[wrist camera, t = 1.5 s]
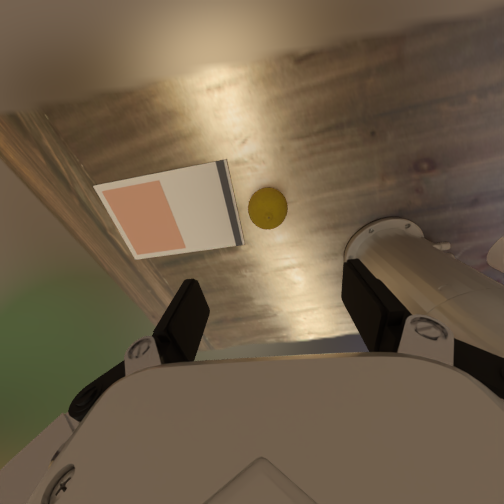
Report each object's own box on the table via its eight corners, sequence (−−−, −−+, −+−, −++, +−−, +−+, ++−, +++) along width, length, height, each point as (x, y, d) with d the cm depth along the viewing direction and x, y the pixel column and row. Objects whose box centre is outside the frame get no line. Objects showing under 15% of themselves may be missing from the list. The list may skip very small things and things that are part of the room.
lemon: (250, 218, 30) (247, 238, 23) (248, 184, 28) (244, 195, 21) (283, 217, 30) (290, 237, 23) (284, 182, 27) (293, 193, 20)
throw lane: (226, 159, 26) (226, 159, 26) (244, 243, 33) (244, 244, 33) (94, 185, 29) (92, 185, 28) (136, 258, 36) (135, 259, 35)
